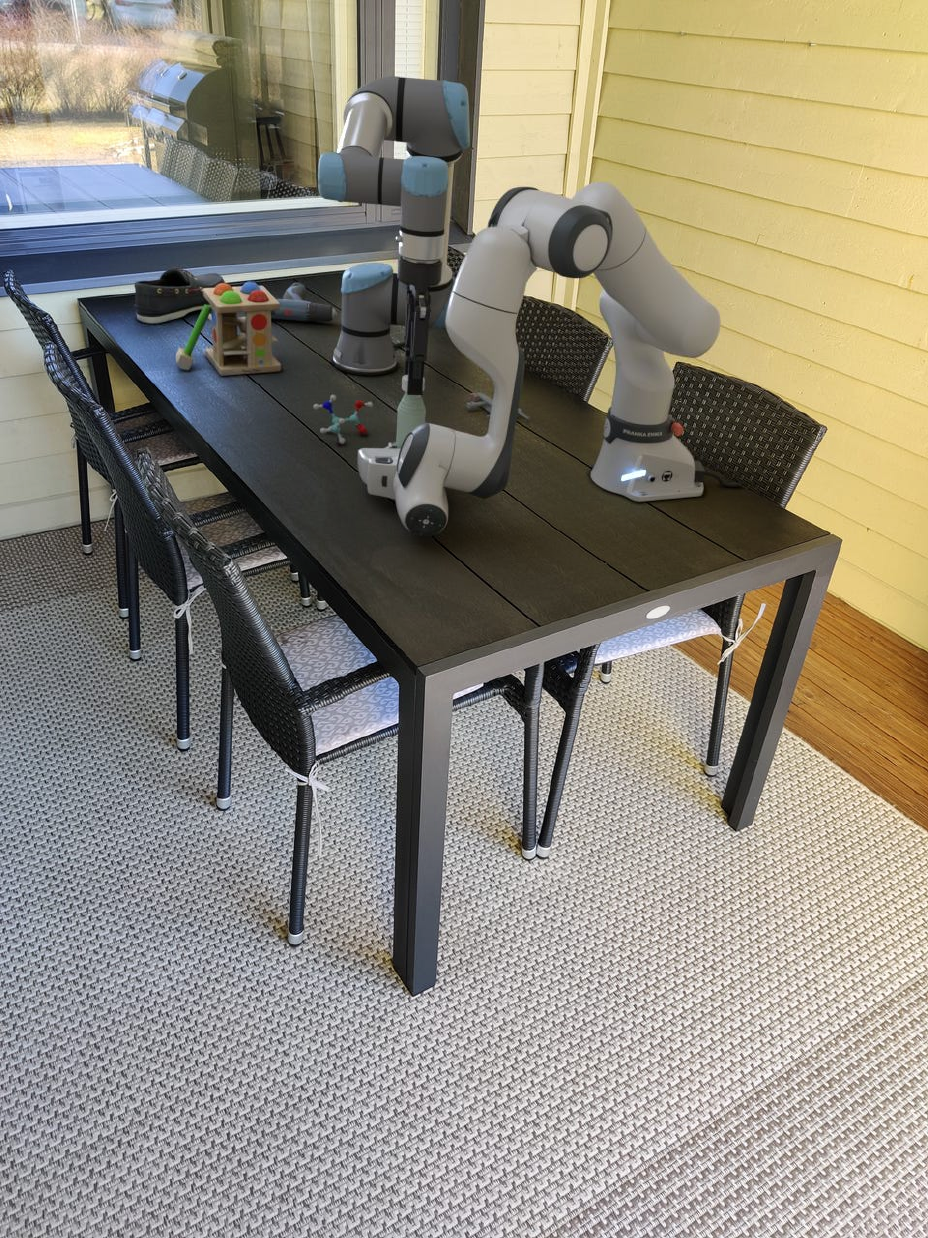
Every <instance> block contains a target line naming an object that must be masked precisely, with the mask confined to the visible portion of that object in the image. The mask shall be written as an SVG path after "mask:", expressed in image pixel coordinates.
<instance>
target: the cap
mask: <svg viewBox="0 0 928 1238" xmlns="http://www.w3.org/2000/svg"><path fill="white" fill-rule="evenodd" d="M425 383H426V379H425V377H424V376H423V392H424V391H425ZM407 384H408V375H405V376H404V375H403V376H402V379H401V389H402V390H403V391H404V392H405V391H406V392H407Z"/></svg>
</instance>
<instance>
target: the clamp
mask: <svg viewBox="0 0 928 1238" xmlns="http://www.w3.org/2000/svg"><path fill="white" fill-rule="evenodd" d="M492 402H493V398H491V397H489V396H488V395H486V394H485V393H484V392H482V391H481V392H480V391H479V392H471V393H470V394H469V402H466V408H467V409H469V410H472V409H477V408H478V407H481V408H483V409H484V410H486V411H487V412H488V413H489V414H487V415H486V418H490V415H491V409H492ZM517 416H522V417H523V418H525V420H526V421H530V420H531V417H530V415H526V414H525V413H523V410H522V408H519V409H518V415H517Z"/></svg>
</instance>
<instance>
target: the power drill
mask: <svg viewBox="0 0 928 1238" xmlns="http://www.w3.org/2000/svg"><path fill="white" fill-rule="evenodd" d="M307 295H308V290H307V287H306V285H304V284H303V283H301V282H293V283H292V284H291V285H290V286H289V287H288V288H287V289H286V291H285V292H284V294H283V297H282V298H275V299H276V300H277V301H278V302H279V303H280V310H271V319H274V320H275V319H276V320H283V321H294V322H295V321H297V322H332V321H333V320H334V319H336V318H337V317H338V312H337V311H336V308H334V307H333V306H332V305H331V304H324V303H317V302H313V301H307V300H305V299H306V297H307Z"/></svg>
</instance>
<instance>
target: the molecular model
mask: <svg viewBox="0 0 928 1238" xmlns="http://www.w3.org/2000/svg"><path fill="white" fill-rule="evenodd" d="M329 398H330V399H329V400H326V401H324V403H323V404H318V403H314V404H313V406H312V408H313V409H314V410H315V411H318V410H319V409H323V408H324V409H325V410H327V411H329V413H330V416H331V417H332V420H331V426H328V427H327V428H325V427H321V428H320V429H319V432H320V434H321V435H325V434H326V433H333V434H336V435H337V438H338V439H339V440H338V441H339V444H341V445H344V444H345V443H346V439H345V438H343V436H342V434H341V433H340V432H341V425H344V424H345V423H347V422H350V424H354V426H355V427H356V429H357V430H358V432H359V434H360V435H362V436H364V435H366V434H367V432H368V431H367V428H366V427H365V426H363V425H362V423H361V422H360V421H359V417H358V413H359V410H360V409H361V408H362V407H367V408H369V409H372V408H373V407H374V403H373V402H372V401H368V402H363V401H362V400H360V399H359V400H358V399H357V400H356V401H355V403H354V406H355V410H354V413H353V414H351V415H350V416H349V417H348V418H347V417H346V418H343V417H338V416H336V414H335V412H334V411H333V409H332V408H333V402H335V401H337V395H335V394H331V395H330V397H329Z"/></svg>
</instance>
